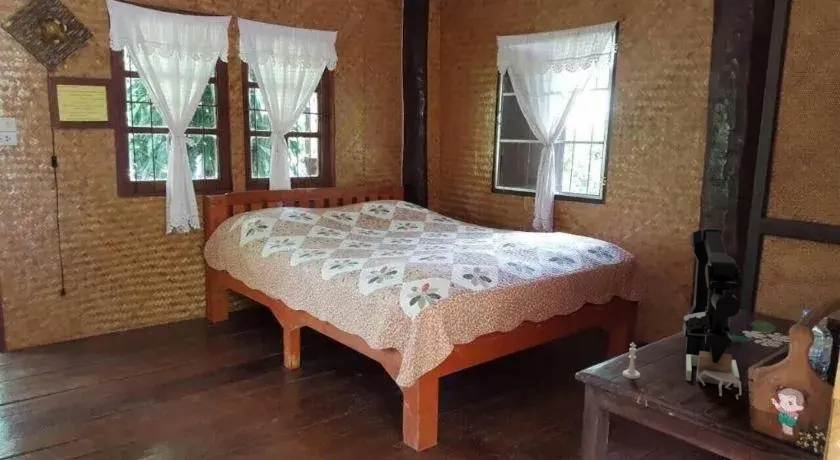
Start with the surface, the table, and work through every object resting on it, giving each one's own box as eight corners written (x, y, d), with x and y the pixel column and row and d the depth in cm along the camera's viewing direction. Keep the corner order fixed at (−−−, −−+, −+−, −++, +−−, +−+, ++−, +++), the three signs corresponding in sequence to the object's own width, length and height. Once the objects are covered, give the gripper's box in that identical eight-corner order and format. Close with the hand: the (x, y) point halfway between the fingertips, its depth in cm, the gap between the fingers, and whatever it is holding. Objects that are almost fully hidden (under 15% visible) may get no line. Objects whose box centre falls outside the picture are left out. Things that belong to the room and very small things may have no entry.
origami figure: (746, 391, 171) (747, 374, 170) (740, 402, 164) (741, 384, 163) (699, 380, 178) (700, 364, 177) (692, 390, 171) (693, 373, 170)
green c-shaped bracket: (686, 380, 178) (686, 370, 178) (685, 363, 190) (686, 354, 190) (738, 387, 173) (739, 377, 172) (734, 369, 185) (735, 360, 185)
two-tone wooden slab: (696, 381, 177) (699, 356, 171) (696, 376, 179) (699, 350, 173) (727, 385, 174) (732, 359, 168) (727, 379, 176) (731, 354, 170)
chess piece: (626, 370, 185) (627, 338, 184) (642, 374, 182) (644, 342, 180) (619, 375, 181) (621, 343, 180) (636, 380, 178) (638, 346, 177)
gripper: (686, 294, 180) (682, 345, 183) (687, 312, 163) (683, 368, 166) (729, 298, 176) (724, 350, 179) (734, 317, 159) (729, 375, 162)
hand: (714, 360), depth 171 cm, fingers closed on two-tone wooden slab, 3 cm apart
